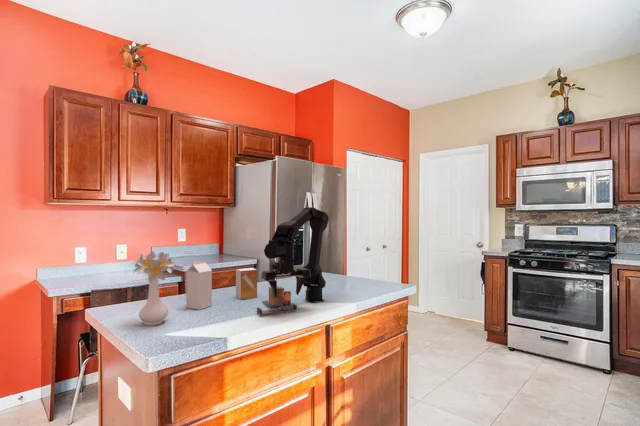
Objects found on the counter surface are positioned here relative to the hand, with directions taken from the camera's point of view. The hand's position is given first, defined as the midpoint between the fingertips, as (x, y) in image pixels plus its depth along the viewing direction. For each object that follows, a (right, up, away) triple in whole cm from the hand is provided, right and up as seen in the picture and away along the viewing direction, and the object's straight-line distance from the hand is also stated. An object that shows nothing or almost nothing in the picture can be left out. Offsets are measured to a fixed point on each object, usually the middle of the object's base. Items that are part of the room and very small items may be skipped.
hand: (286, 295), depth 141 cm
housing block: (-5, -5, +11) cm, 13 cm away
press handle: (0, -5, 0) cm, 5 cm away
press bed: (-5, -6, +11) cm, 14 cm away
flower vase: (-45, -6, -14) cm, 47 cm away
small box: (-21, -6, +24) cm, 33 cm away
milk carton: (-37, -6, +7) cm, 38 cm away
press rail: (-4, -6, -2) cm, 7 cm away
